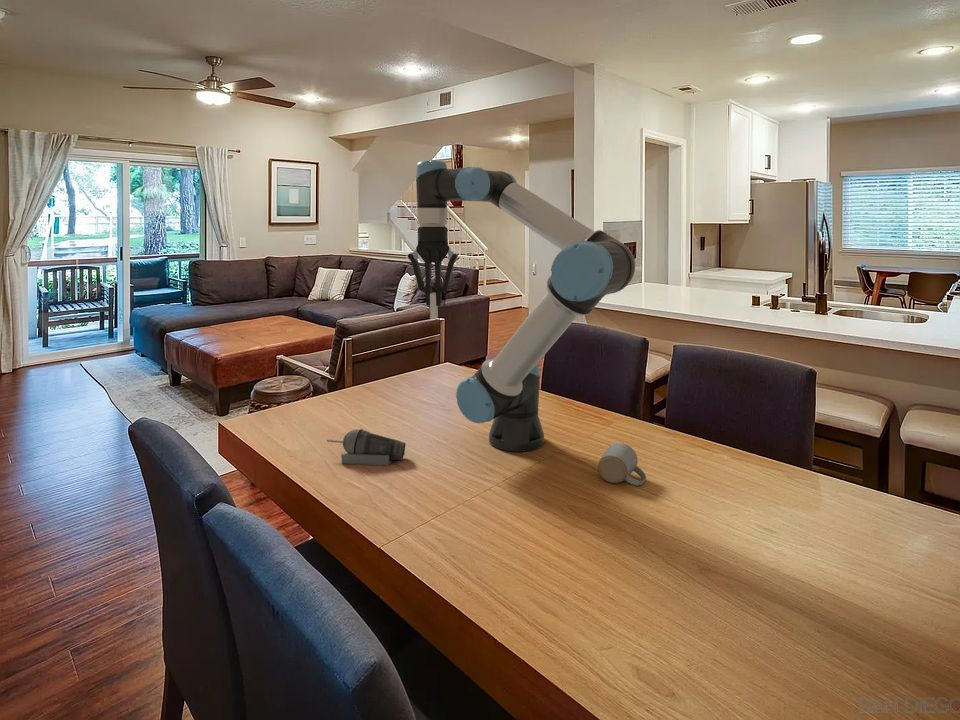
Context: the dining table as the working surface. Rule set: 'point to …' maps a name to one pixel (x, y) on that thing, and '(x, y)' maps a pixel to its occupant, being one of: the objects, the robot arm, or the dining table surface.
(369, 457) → the cradle
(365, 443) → the beverage cup
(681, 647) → the dining table surface
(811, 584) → the dining table surface
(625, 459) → the ceramic mug
